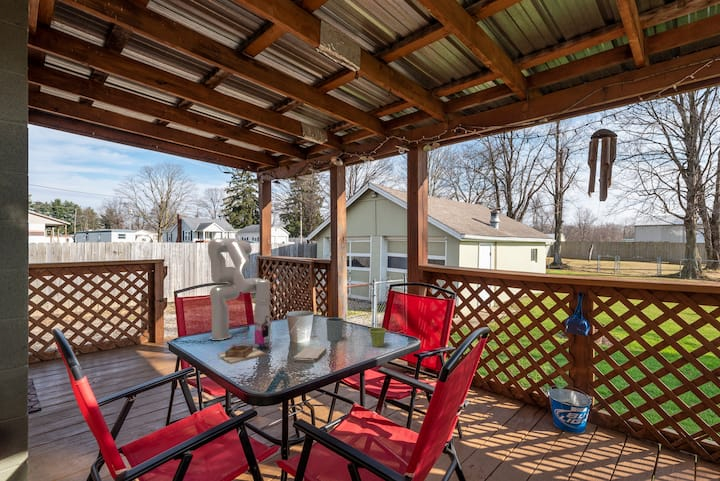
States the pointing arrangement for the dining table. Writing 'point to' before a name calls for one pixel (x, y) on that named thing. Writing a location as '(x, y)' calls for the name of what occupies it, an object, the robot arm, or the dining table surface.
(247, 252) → the robot arm
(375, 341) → the plant pot
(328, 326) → the grey green embossed cup
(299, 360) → the washcloth
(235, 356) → the collar holder
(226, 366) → the dining table surface
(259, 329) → the supplement box
